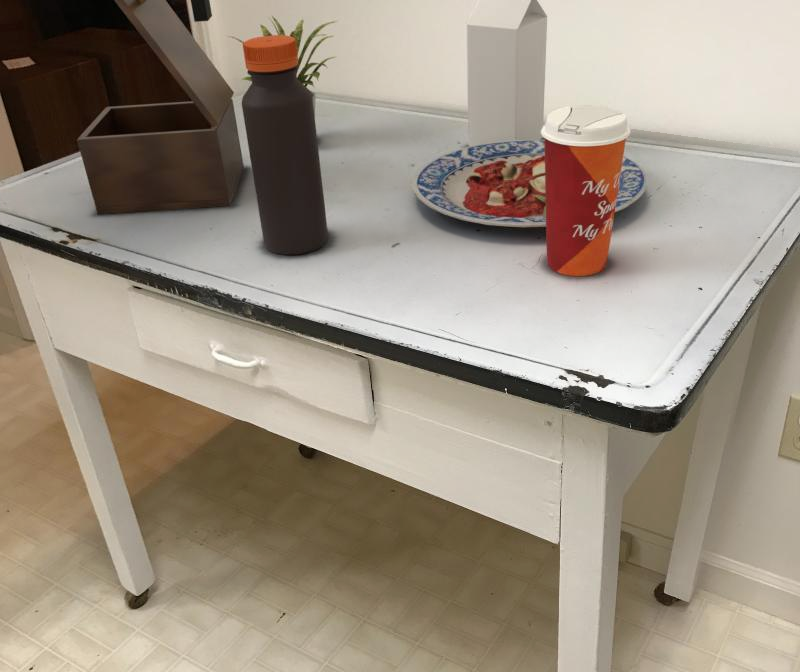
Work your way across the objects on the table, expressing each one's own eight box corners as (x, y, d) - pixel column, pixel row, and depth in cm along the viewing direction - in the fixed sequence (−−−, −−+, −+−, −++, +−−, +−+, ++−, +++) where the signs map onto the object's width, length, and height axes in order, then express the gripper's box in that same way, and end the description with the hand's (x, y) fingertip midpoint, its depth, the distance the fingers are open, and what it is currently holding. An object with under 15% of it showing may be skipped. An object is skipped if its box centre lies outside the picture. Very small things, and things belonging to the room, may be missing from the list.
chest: (97, 214, 100) (76, 139, 95) (123, 176, 110) (106, 106, 105) (230, 205, 99) (216, 130, 94) (244, 168, 110) (232, 98, 105)
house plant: (376, 134, 118) (367, 6, 108) (314, 166, 109) (298, 29, 99) (296, 122, 125) (281, 0, 115) (231, 151, 115) (209, 22, 106)
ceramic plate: (405, 166, 107) (403, 142, 105) (608, 149, 107) (610, 125, 106) (424, 254, 86) (423, 226, 84) (678, 232, 86) (682, 204, 85)
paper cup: (596, 288, 78) (609, 135, 70) (521, 270, 81) (525, 123, 73) (631, 255, 83) (646, 108, 75) (558, 239, 87) (566, 98, 79)
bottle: (258, 257, 87) (224, 51, 76) (270, 229, 93) (240, 34, 82) (324, 255, 87) (299, 47, 75) (332, 228, 92) (310, 30, 81)
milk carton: (515, 155, 108) (518, -9, 97) (467, 147, 111) (465, -13, 100) (543, 139, 112) (549, -20, 101) (496, 131, 116) (497, -23, 105)
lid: (106, -9, 86) (144, -40, 85) (135, -29, 97) (170, -57, 95) (213, 128, 94) (249, 102, 93) (229, 96, 105) (262, 72, 103)
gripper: (231, -254, 83) (266, 8, 97) (98, -245, 83) (151, 15, 97) (219, -259, 77) (258, 22, 90) (75, -249, 77) (136, 29, 91)
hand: (203, 18), depth 94 cm, fingers closed
